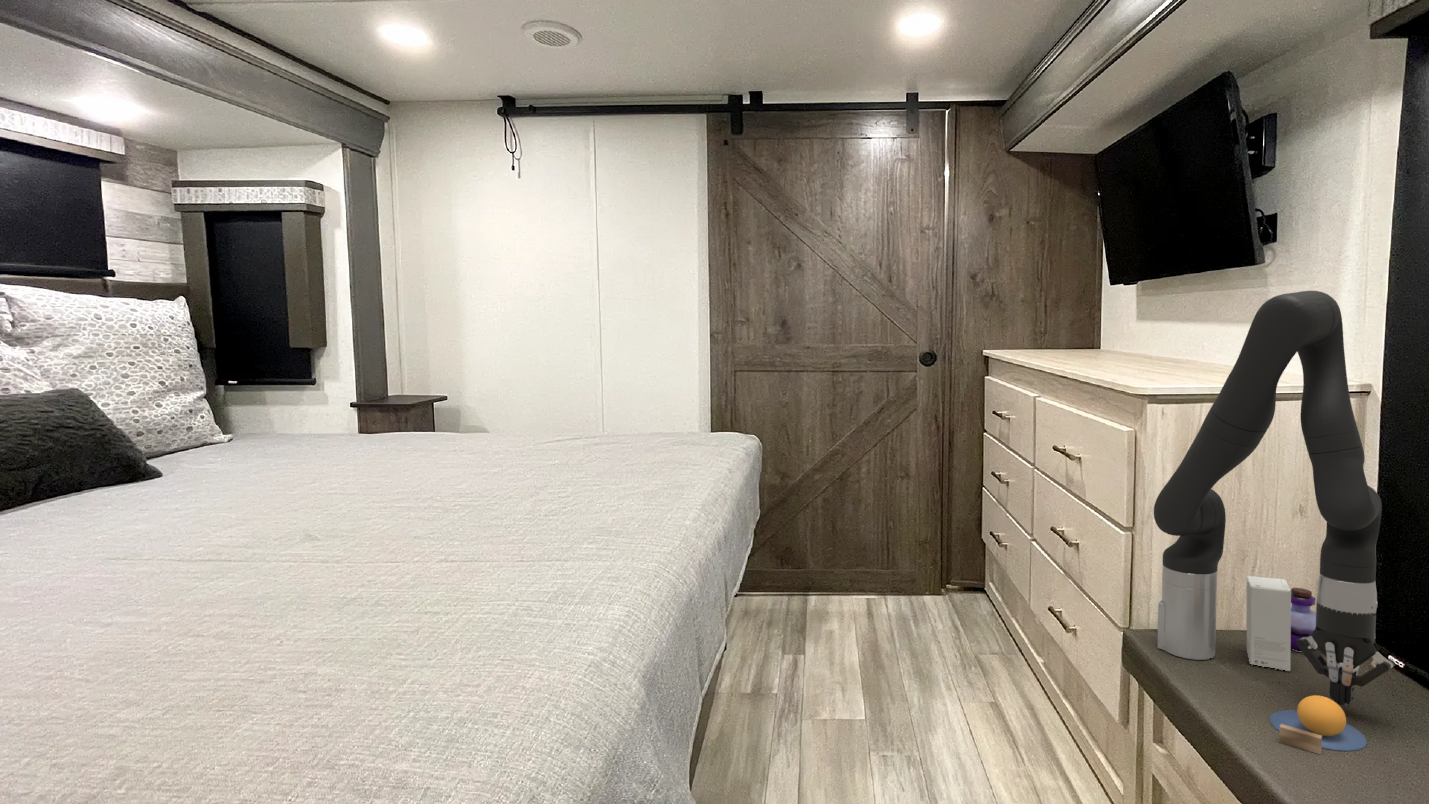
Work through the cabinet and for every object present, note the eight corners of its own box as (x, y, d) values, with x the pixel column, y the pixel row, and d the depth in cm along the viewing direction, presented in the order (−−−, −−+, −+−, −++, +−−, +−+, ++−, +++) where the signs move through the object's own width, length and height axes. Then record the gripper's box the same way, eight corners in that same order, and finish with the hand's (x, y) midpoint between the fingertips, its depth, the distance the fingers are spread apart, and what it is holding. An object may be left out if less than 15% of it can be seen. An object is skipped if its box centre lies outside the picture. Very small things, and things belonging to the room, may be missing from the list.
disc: (1262, 731, 119) (1262, 729, 119) (1278, 703, 127) (1278, 702, 127) (1361, 760, 110) (1361, 759, 110) (1371, 729, 118) (1371, 728, 118)
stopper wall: (1279, 742, 115) (1279, 726, 115) (1280, 739, 116) (1281, 723, 116) (1320, 754, 112) (1320, 738, 111) (1321, 751, 112) (1322, 735, 112)
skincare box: (1290, 672, 138) (1293, 591, 136) (1247, 665, 141) (1249, 586, 140) (1285, 655, 145) (1287, 578, 143) (1243, 649, 148) (1245, 573, 147)
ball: (1300, 682, 119) (1312, 698, 122) (1285, 715, 118) (1297, 730, 120) (1346, 699, 114) (1357, 716, 116) (1330, 734, 112) (1342, 749, 115)
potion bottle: (1261, 640, 152) (1263, 583, 151) (1299, 637, 153) (1301, 580, 152) (1298, 658, 143) (1301, 598, 142) (1339, 654, 144) (1341, 595, 143)
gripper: (1288, 596, 125) (1284, 694, 127) (1389, 620, 114) (1384, 727, 116) (1307, 587, 129) (1303, 682, 131) (1406, 609, 118) (1401, 713, 120)
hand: (1341, 703), depth 123 cm, fingers closed
